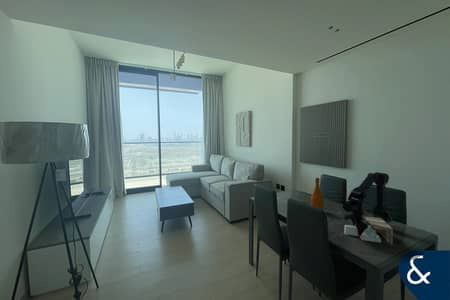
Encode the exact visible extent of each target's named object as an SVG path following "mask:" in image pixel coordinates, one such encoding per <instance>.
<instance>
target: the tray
mask: <svg viewBox="0 0 450 300" xmlns="http://www.w3.org/2000/svg"><path fill="white" fill-rule="evenodd" d="M343 230H344V235H346V236H347V235H348V236H355V237H359V238H360V239H361V240H362V241H367V242H372V243H373V242H375V243H382V238H381V237H380V236H379V235H378V234H377V233H376V231H375V230H372V226H369V225H368V228H367V229H365V231H364V232H363V233H362V235H361V236H358V231H357V228H356V227H355V226H353V225H350V224H344V229H343Z"/></svg>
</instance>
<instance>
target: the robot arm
mask: <svg viewBox="0 0 450 300" xmlns="http://www.w3.org/2000/svg"><path fill="white" fill-rule="evenodd" d="M364 178H365V179H363V181H362V182H360V185H359V186H357V187H354V188H353V189H352V190H351V191H350V193H349V194H348V197H347V199H346V200H345V202H344V203H343V204H342V209H343V210H344V211H345V212H342V213H341V214H342V218H343V219H344V221H348V220H350V221H351V223H352V226H355V227H356V228H357V231H358V236H357V237H360V236H361V235H362V233H363V232H364V231H365V229H367V228H368V225H367V224H366V223H365V218H364V216H363V215H365V212H364V203H366V201H365V199H366V198H367V196H368V194H367V192H368V190H369V189H370V188H371V186H372V185H373V184H375V186H376V189H375V190H376V191H375V192H376V196H375V197H376V205H375V206H374V207H373V208H372V210H373V211H372V213H373V217H374V218H381V219H382V220H384V221H385V222H386V223H387V224H388V225H389V222H392V220H393V217H392V216H391V214H390V211H389V208H388V207H387V206H386V185H388V183H389V180H390V176H389V174H388V173H385V172H377V171H376V172H374V173H373V172H369V173H368V174H367V176H366V177H364Z"/></svg>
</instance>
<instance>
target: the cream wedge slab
mask: <svg viewBox="0 0 450 300" xmlns="http://www.w3.org/2000/svg"><path fill="white" fill-rule="evenodd" d="M364 222H365V223H366V224H367V225H369V226H372V230H375V231H376V234H377V233H378V234H380V236H382V237H383V238H384V239H385V241H386V242H387V243H388V244H389V245H390V246H393V240H394V239H393V238H394V234H393V233H394V228H393V227H391V226H390V225H389V223H388V224H387V223H386V222H385V221H384V220H382V219H381V218H375V217H374V216H364Z"/></svg>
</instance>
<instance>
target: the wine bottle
mask: <svg viewBox="0 0 450 300" xmlns="http://www.w3.org/2000/svg"><path fill="white" fill-rule="evenodd" d="M314 182H315V187H314V188H313V190H312V194H311V197H310V206H311V205H312V206H314V207H317V208H320V209H322V210H323V211H324V196H323V193H322V192H321V188H320V177H315V179H314Z"/></svg>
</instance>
